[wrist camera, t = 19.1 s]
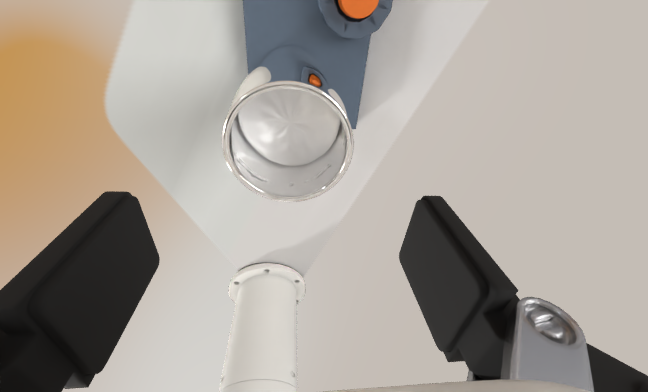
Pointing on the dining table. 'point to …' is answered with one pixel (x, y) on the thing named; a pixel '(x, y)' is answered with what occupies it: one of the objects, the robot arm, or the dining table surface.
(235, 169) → the beer glass
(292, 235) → the dining table surface
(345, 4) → the button
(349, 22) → the scale
